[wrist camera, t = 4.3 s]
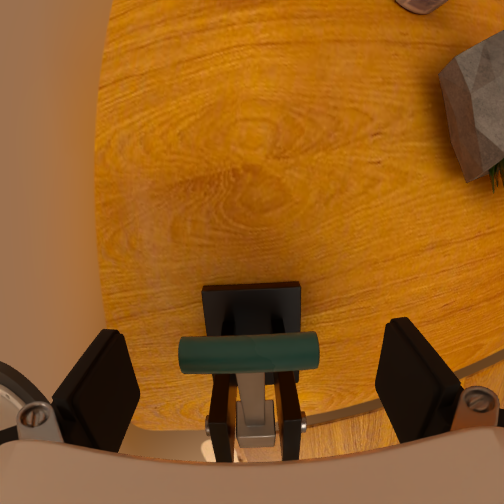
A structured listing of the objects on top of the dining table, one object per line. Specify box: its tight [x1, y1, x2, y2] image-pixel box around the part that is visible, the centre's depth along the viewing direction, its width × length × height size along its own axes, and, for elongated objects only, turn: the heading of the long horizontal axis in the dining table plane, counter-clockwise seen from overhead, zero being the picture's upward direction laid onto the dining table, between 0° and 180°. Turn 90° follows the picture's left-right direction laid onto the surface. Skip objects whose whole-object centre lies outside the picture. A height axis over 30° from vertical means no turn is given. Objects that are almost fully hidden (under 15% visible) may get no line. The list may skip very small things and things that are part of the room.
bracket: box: [202, 282, 307, 463], centre depth 22 cm, size 10×8×13 cm
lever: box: [178, 331, 320, 448], centre depth 15 cm, size 11×5×2 cm, turn 3°
